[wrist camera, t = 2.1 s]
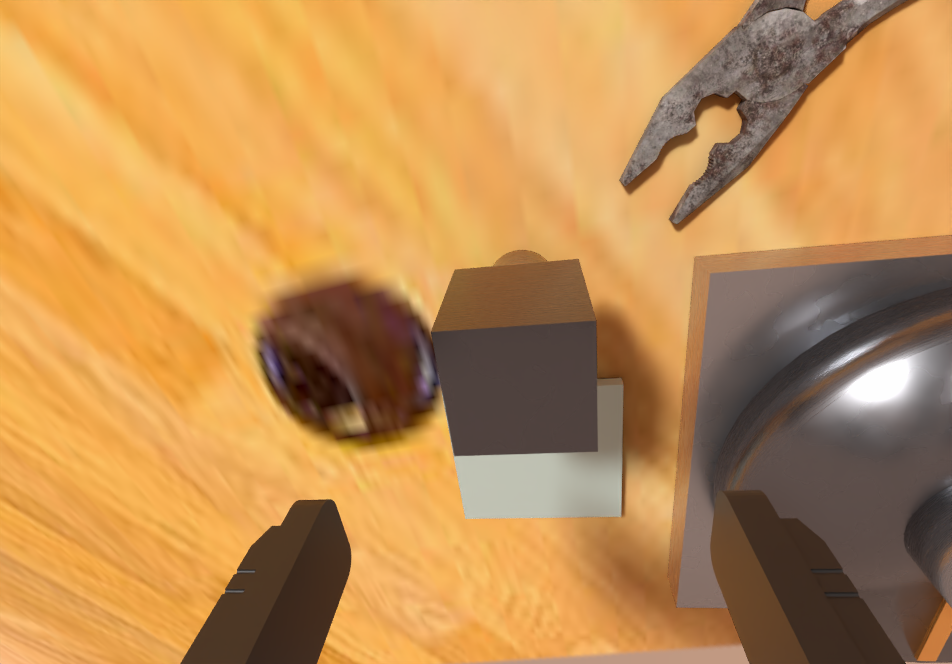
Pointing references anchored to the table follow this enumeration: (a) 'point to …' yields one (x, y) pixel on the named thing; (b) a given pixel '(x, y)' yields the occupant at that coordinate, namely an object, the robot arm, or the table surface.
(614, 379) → the mat
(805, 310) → the drill stand
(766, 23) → the pliers
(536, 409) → the block
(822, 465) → the chuck collar
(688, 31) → the table surface
